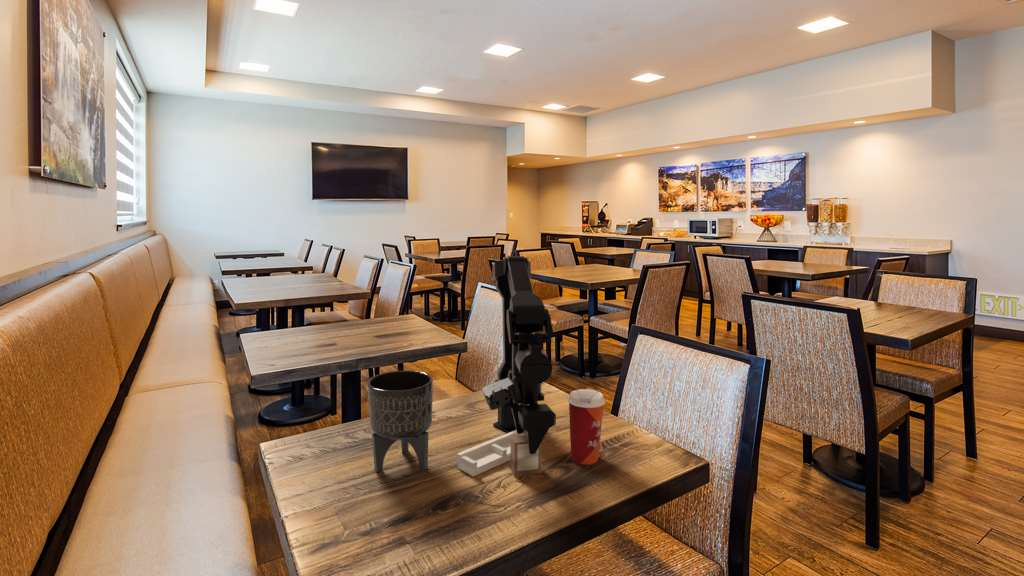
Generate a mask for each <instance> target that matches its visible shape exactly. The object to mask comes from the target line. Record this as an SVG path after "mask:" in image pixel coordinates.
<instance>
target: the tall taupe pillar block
mask: <svg viewBox="0 0 1024 576" xmlns="http://www.w3.org/2000/svg"><path fill="white" fill-rule="evenodd" d="M542 442H543V441H542ZM542 442H541V444H540V446H539V448H538V450H537V451H536V453H535V454H530V453H529V448H528V441H527V435H519V436H511V460H510V464H509V465H510V472H511V473H512V475H513V477H523V476H529V475H539V474H542V449H543V446H542V445H543V443H542Z"/></svg>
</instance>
